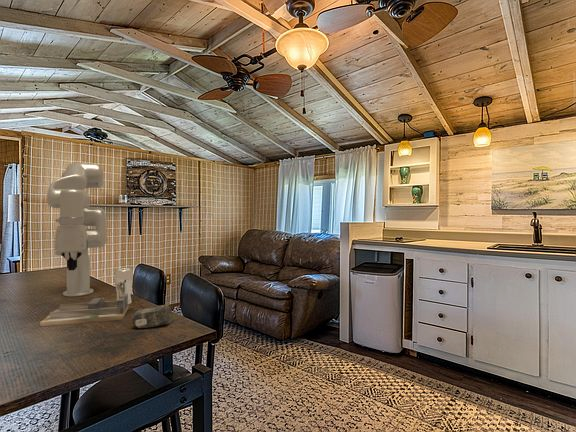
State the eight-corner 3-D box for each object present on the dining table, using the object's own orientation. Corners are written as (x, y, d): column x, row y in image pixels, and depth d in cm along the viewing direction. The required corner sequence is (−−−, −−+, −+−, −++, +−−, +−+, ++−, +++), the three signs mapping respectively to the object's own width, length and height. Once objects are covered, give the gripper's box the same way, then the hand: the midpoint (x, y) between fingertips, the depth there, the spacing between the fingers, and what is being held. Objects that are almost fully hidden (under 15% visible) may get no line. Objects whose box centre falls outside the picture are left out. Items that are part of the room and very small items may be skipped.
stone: (144, 343, 111) (129, 318, 110) (141, 340, 118) (126, 316, 116) (180, 319, 119) (166, 295, 118) (175, 317, 125) (162, 294, 124)
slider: (93, 308, 131) (93, 296, 131) (104, 307, 132) (104, 296, 132) (84, 317, 120) (84, 305, 119) (97, 316, 121) (97, 304, 121)
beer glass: (135, 303, 144) (135, 269, 144) (118, 306, 139) (118, 271, 139) (128, 300, 149) (129, 267, 149) (112, 303, 144) (112, 269, 144)
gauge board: (57, 312, 131) (57, 296, 131) (128, 307, 139) (128, 292, 138) (40, 326, 115) (40, 308, 115) (121, 319, 123) (121, 302, 123)
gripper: (44, 222, 119) (45, 272, 119) (91, 222, 123) (91, 270, 124) (52, 221, 126) (53, 268, 127) (96, 221, 130) (96, 267, 131)
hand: (72, 269), depth 125 cm, fingers closed
